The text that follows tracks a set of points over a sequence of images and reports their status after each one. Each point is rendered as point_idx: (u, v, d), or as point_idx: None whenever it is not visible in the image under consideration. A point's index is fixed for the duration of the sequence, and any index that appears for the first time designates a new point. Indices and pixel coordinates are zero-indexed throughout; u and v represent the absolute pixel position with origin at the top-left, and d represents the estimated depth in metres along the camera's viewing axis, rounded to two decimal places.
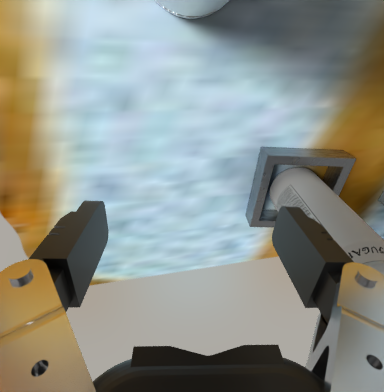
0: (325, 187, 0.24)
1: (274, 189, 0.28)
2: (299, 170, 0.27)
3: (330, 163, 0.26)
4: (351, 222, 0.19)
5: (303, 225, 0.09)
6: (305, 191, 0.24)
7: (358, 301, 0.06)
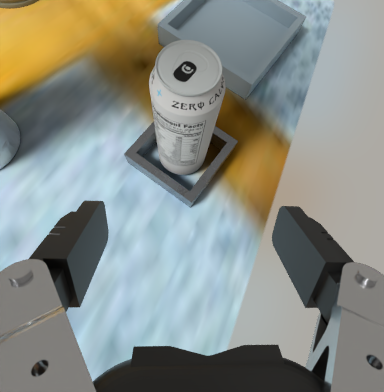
0: None
1: (164, 164, 0.28)
2: None
3: None
4: None
5: (303, 225, 0.09)
6: None
7: (358, 301, 0.06)
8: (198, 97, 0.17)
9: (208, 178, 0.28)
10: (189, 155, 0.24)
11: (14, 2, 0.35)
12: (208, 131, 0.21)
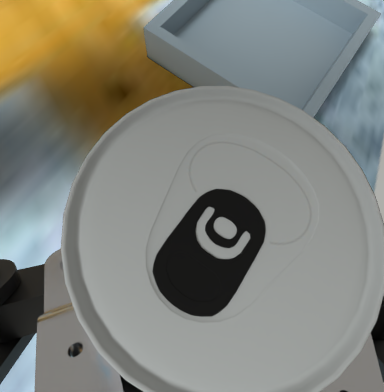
0: None
1: None
2: None
3: None
4: None
5: None
6: None
7: None
8: (281, 385, 0.03)
9: None
10: None
11: None
12: None
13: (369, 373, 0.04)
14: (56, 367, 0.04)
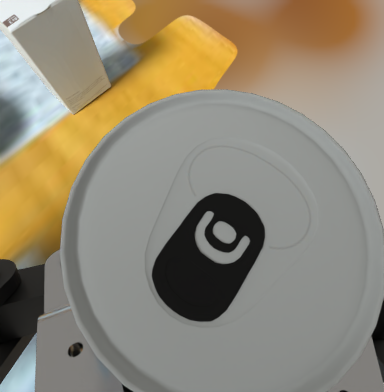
0: None
1: None
2: None
3: None
4: None
5: None
6: None
7: None
8: (280, 390, 0.03)
9: None
10: None
11: None
12: None
13: (369, 373, 0.04)
14: (56, 367, 0.04)
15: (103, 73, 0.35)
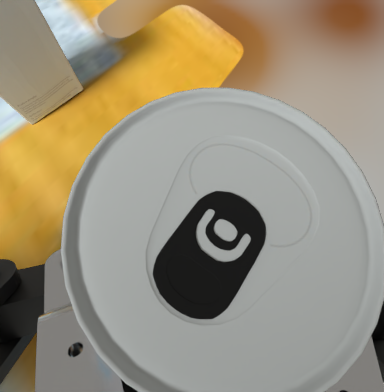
0: None
1: None
2: None
3: None
4: None
5: None
6: None
7: None
8: (281, 387, 0.03)
9: None
10: None
11: None
12: None
13: (369, 373, 0.04)
14: (56, 367, 0.04)
15: (70, 73, 0.27)
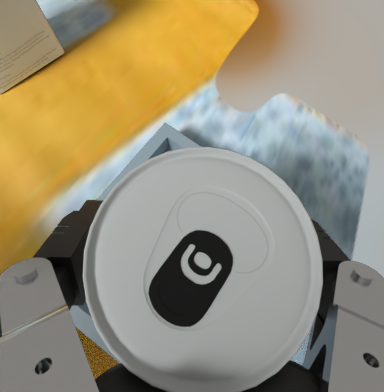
0: None
1: None
2: None
3: None
4: None
5: None
6: None
7: (353, 299, 0.06)
8: (241, 376, 0.05)
9: None
10: None
11: None
12: None
13: None
14: (23, 388, 0.04)
15: (45, 27, 0.22)
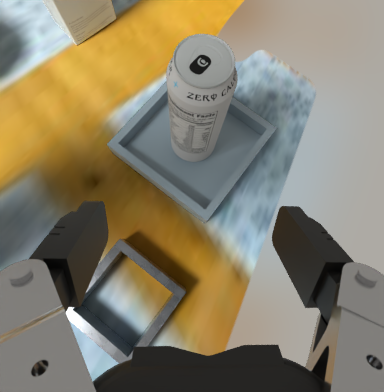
0: None
1: (176, 151, 0.30)
2: None
3: (108, 260, 0.27)
4: None
5: (303, 225, 0.09)
6: None
7: (358, 301, 0.06)
8: (212, 89, 0.18)
9: (149, 340, 0.26)
10: (200, 143, 0.26)
11: None
12: (219, 121, 0.23)
13: None
14: (20, 390, 0.04)
15: (108, 0, 0.34)
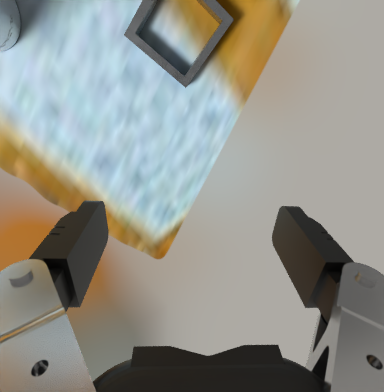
0: None
1: None
2: None
3: None
4: None
5: (303, 225, 0.09)
6: None
7: (358, 301, 0.06)
8: None
9: (201, 63, 0.32)
10: None
11: None
12: None
13: None
14: (20, 391, 0.04)
15: None
